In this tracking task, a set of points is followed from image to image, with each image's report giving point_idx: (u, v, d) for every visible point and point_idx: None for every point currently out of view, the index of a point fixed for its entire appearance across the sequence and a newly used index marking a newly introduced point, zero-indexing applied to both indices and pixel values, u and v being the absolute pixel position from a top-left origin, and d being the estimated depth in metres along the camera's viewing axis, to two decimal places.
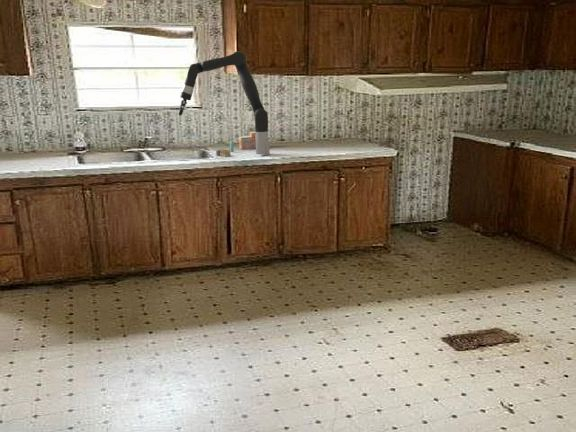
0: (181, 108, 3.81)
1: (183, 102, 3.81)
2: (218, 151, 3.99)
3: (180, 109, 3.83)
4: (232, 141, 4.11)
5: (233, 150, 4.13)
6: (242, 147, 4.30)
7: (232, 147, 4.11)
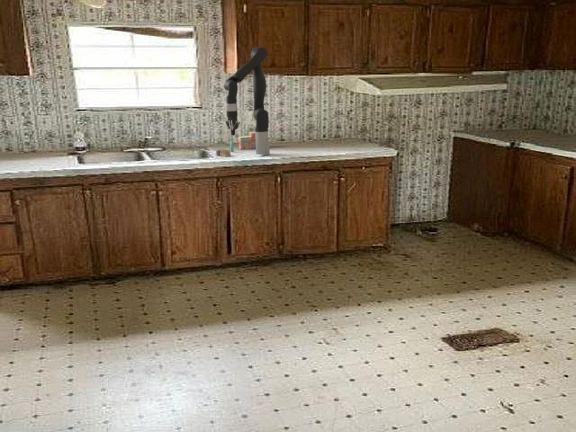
0: (235, 128, 3.83)
1: (237, 124, 3.81)
2: (218, 151, 3.99)
3: None
4: (232, 141, 4.11)
5: (233, 150, 4.13)
6: (241, 147, 4.29)
7: (232, 147, 4.11)
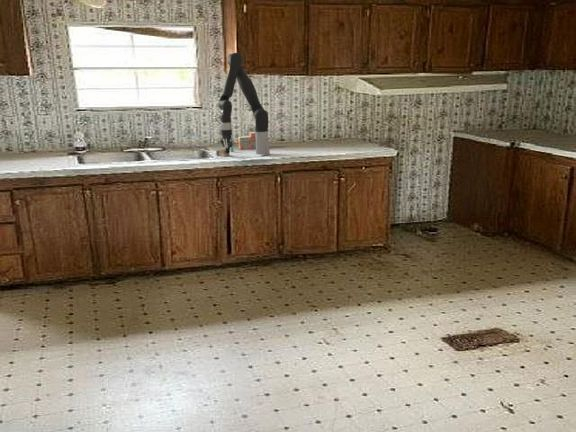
0: (230, 146, 3.92)
1: (232, 142, 3.89)
2: (218, 151, 3.99)
3: (227, 148, 3.93)
4: None
5: (233, 150, 4.13)
6: (241, 147, 4.29)
7: (232, 147, 4.11)
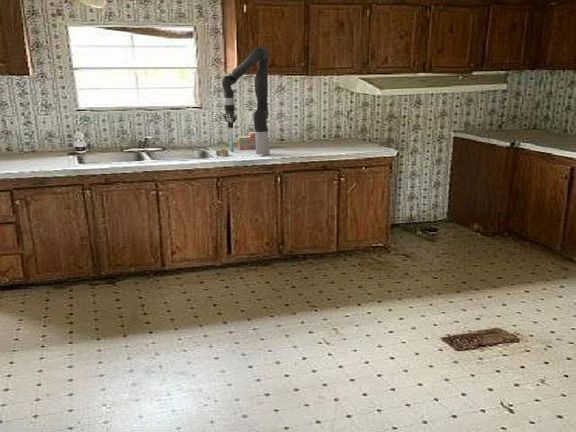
0: (233, 121, 4.04)
1: (235, 117, 4.02)
2: None
3: None
4: (232, 141, 4.11)
5: (233, 150, 4.13)
6: (240, 147, 4.29)
7: (232, 147, 4.11)
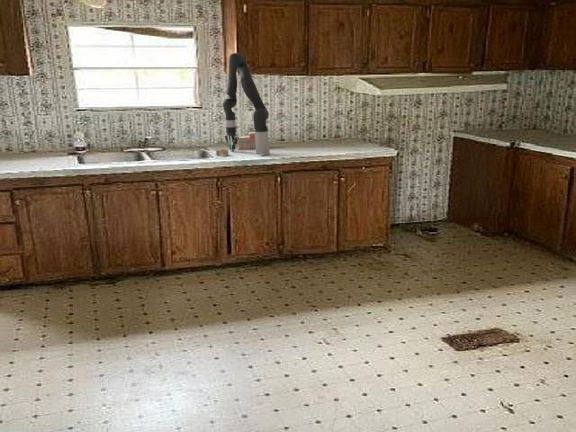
0: (235, 143, 4.08)
1: (237, 138, 4.06)
2: None
3: None
4: None
5: None
6: (239, 147, 4.29)
7: None
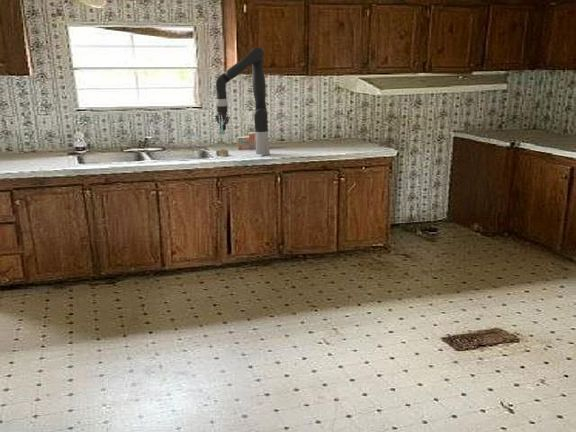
0: (226, 123, 3.92)
1: (227, 118, 3.90)
2: None
3: (223, 124, 3.94)
4: None
5: (224, 130, 3.97)
6: (239, 147, 4.29)
7: None
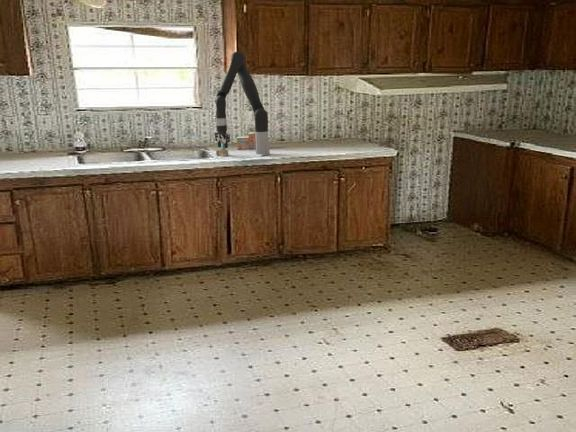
0: (228, 141, 3.92)
1: (228, 135, 3.91)
2: None
3: (225, 143, 3.93)
4: (223, 143, 3.96)
5: None
6: (238, 147, 4.29)
7: (223, 149, 3.97)
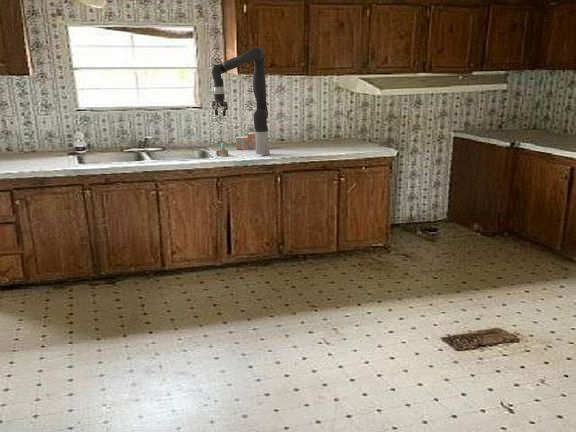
0: (226, 109, 3.99)
1: (225, 103, 3.98)
2: None
3: (223, 110, 4.00)
4: (223, 143, 3.96)
5: None
6: (237, 147, 4.29)
7: (223, 149, 3.97)
